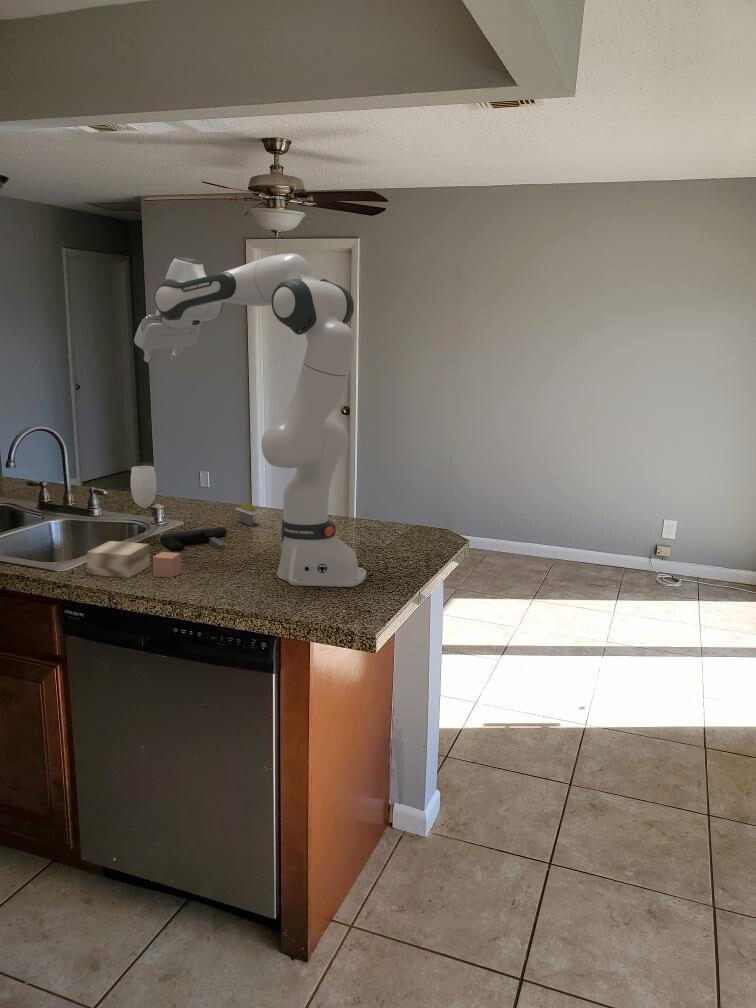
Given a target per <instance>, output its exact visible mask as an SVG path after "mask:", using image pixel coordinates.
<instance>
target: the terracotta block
mask: <svg viewBox="0 0 756 1008" xmlns="http://www.w3.org/2000/svg"><path fill="white" fill-rule="evenodd" d="M152 565H153V566H152V569H153V575H152V576H153V577H157V578H158V577H159V578H169V579H170V578H171V579H173V578H175V577H176V576H178V575H179V574H181V573H182V554H181V552H180V553H179V552H171V551H170V552H169V551H167V552H166V551H162V552H159V553H158V554H156V555H154V556H152ZM174 576H175V577H174Z"/></svg>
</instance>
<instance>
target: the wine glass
mask: <svg viewBox="0 0 756 1008" xmlns="http://www.w3.org/2000/svg"><path fill="white" fill-rule="evenodd" d="M130 470H131V472H130V473H131V474H130V490H131V491H130V492H131V496H132V499H133V500H134V504H137V505H138V507H140V508H144V509H146V508H148V507H150V505H151V504H153V503H154V502H155V498H156V495H157V486H158V485H157V475H156V471H155V467H154V466H150V465H139V466H138V465H137V466H132V467H131V469H130Z"/></svg>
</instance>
